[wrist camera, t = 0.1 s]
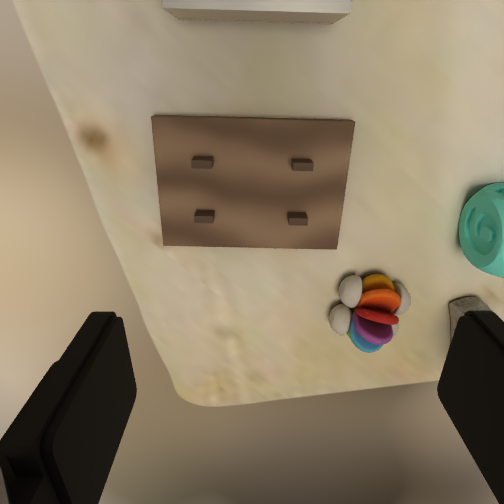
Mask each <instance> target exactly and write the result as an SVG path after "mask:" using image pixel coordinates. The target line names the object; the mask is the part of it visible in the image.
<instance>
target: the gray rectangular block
mask: <svg viewBox="0 0 504 504" xmlns="http://www.w3.org/2000/svg"><path fill="white" fill-rule="evenodd" d="M351 3H352V0H162V7H163V9H165V10H166V11H168V12H169V13H171V14H172V15H173V16H175V17H176V18H178V19H179V20H213V21H248V22H282V23H317V24H333V23H335V22H336V21H338V20H340V19H341V18H343V17H345V16H347V15H348V14H350V11H351Z"/></svg>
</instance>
